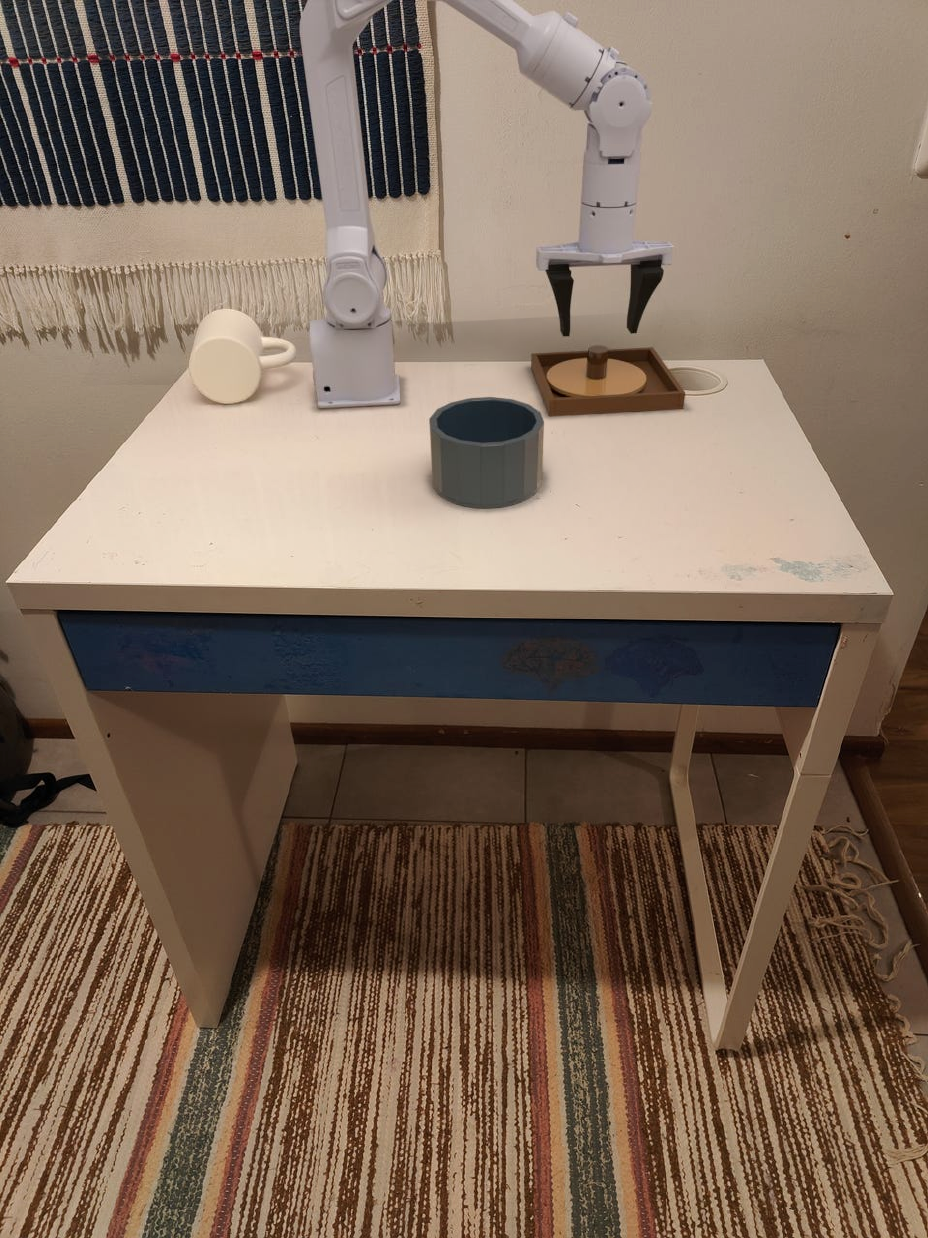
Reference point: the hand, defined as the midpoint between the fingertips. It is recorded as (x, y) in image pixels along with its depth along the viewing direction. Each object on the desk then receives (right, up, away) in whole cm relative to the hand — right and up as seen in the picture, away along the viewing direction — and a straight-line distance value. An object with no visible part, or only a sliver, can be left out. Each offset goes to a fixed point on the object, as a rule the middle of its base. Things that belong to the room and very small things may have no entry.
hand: (598, 331), depth 98 cm
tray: (+1, -5, +4) cm, 7 cm away
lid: (0, -5, +3) cm, 6 cm away
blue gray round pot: (-13, -19, -13) cm, 27 cm away
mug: (-41, -5, +7) cm, 42 cm away
